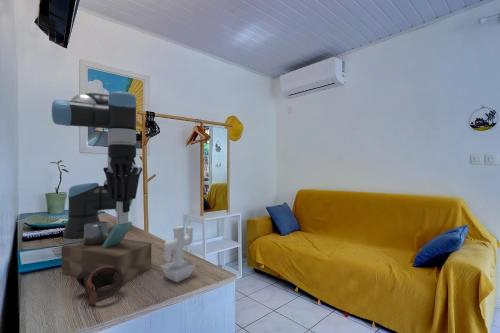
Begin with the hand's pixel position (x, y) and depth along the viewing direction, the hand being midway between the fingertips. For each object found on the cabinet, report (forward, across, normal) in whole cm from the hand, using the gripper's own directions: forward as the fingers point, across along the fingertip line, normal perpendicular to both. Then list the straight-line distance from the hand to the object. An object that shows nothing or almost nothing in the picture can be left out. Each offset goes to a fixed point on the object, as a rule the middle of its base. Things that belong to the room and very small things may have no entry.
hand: (122, 222), depth 77 cm
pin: (+14, +11, 0) cm, 18 cm away
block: (+15, +6, 0) cm, 16 cm away
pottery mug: (+16, -5, +12) cm, 20 cm away
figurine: (+16, -17, -4) cm, 23 cm away
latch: (+4, +2, 0) cm, 4 cm away
